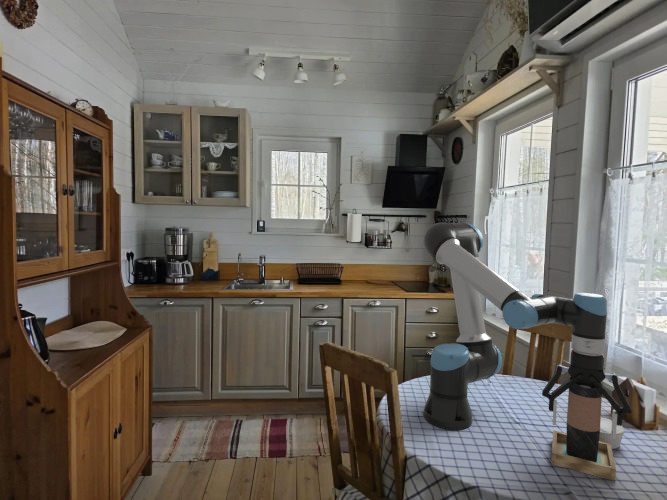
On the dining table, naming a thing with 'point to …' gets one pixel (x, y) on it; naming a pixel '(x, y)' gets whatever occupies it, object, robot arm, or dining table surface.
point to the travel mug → (583, 422)
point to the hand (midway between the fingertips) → (582, 429)
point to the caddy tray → (599, 468)
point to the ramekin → (606, 433)
